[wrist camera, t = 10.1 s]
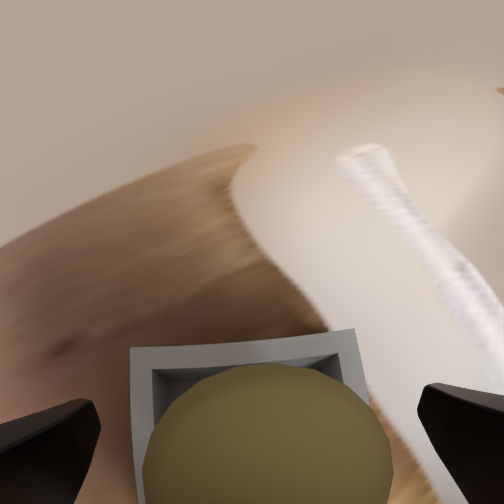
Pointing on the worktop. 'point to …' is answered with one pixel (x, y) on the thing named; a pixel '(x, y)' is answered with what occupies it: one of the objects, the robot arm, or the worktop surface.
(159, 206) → the worktop surface
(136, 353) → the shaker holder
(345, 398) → the cork
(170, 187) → the worktop surface
